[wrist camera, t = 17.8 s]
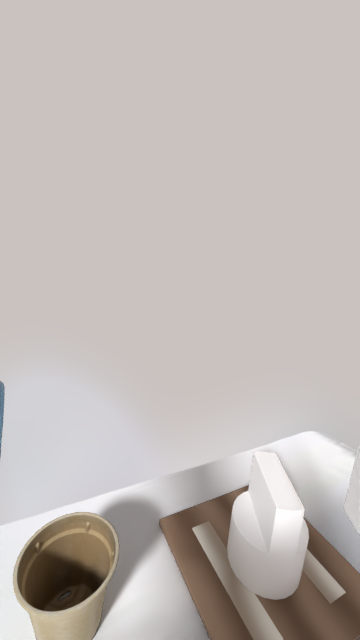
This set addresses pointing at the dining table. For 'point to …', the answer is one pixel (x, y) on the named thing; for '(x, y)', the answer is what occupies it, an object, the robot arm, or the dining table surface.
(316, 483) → the dining table surface
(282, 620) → the letter board
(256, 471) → the base with upright slab
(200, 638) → the dining table surface
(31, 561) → the flower pot
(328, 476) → the dining table surface
